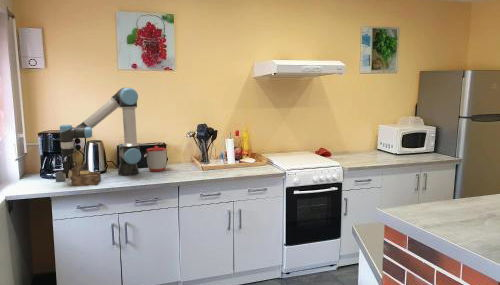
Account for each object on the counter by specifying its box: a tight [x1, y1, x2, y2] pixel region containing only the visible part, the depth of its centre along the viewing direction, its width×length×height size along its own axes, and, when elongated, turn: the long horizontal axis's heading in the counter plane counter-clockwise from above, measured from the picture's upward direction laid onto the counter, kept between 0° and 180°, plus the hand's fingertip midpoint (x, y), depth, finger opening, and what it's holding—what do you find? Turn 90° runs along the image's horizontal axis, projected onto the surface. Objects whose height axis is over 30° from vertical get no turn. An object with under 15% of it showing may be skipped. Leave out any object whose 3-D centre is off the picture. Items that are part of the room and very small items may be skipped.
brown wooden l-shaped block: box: [70, 164, 102, 187], centre depth 251 cm, size 16×12×12 cm
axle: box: [63, 170, 91, 177], centre depth 250 cm, size 16×4×4 cm, turn 101°
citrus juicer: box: [143, 145, 168, 173], centre depth 290 cm, size 16×17×20 cm
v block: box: [54, 169, 66, 183], centre depth 260 cm, size 8×8×6 cm
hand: (69, 181), depth 249 cm, fingers open, 8 cm apart
